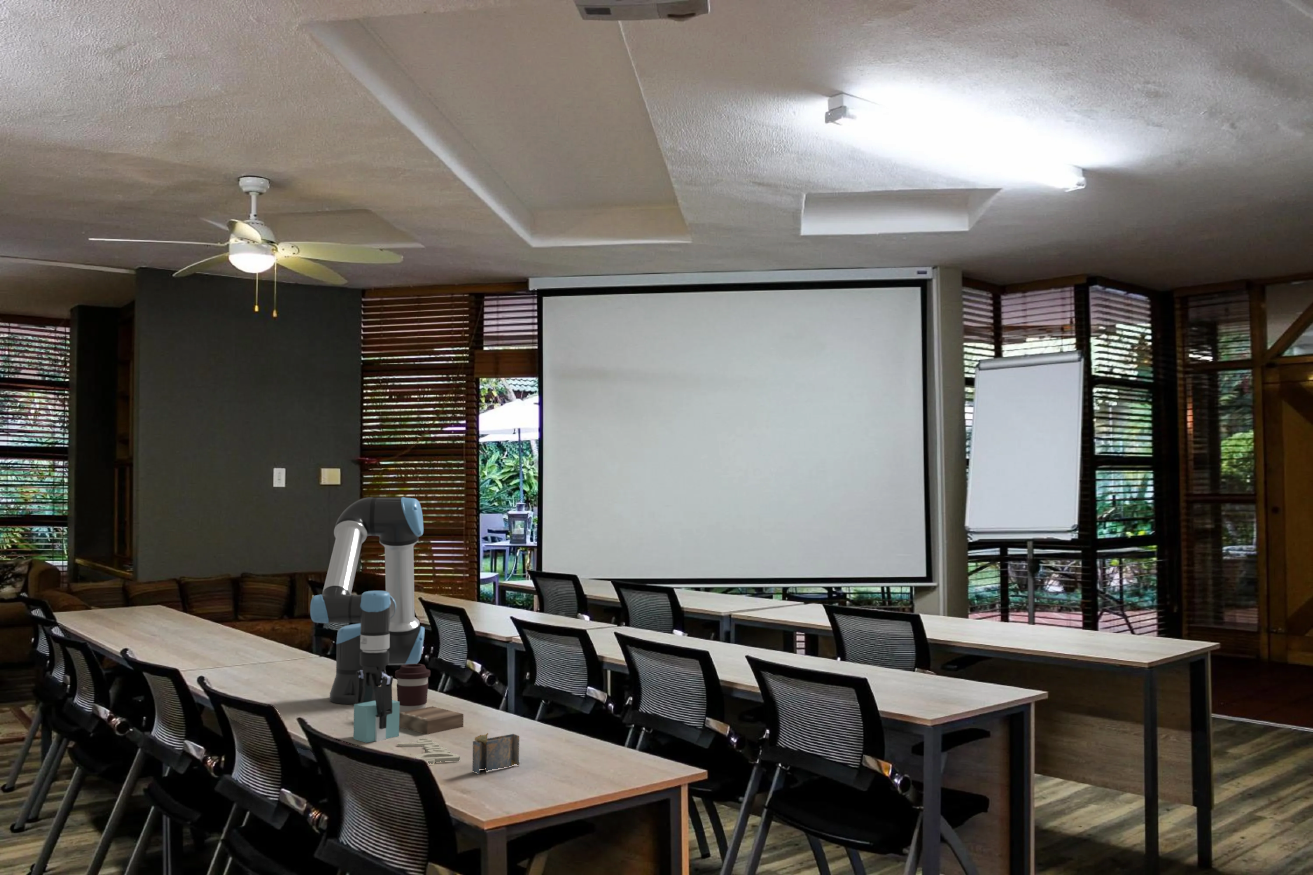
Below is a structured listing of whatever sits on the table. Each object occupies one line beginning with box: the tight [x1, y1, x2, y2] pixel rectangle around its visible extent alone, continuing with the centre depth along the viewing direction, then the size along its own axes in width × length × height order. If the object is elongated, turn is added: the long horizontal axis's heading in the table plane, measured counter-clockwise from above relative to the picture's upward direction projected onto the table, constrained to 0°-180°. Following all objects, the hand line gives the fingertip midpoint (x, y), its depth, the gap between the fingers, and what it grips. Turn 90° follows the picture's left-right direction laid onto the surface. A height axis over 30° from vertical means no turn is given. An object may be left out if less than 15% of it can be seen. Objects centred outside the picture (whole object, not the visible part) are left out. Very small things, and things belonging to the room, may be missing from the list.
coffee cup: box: [394, 663, 431, 713], centre depth 302 cm, size 10×10×15 cm
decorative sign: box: [396, 737, 461, 764], centre depth 263 cm, size 23×2×10 cm
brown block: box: [399, 705, 464, 735], centre depth 290 cm, size 14×12×4 cm
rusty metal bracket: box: [471, 732, 520, 774], centre depth 249 cm, size 11×3×10 cm, turn 131°
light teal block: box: [352, 699, 400, 744], centre depth 277 cm, size 6×10×9 cm, turn 139°
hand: (372, 738), depth 276 cm, fingers closed on light teal block, 6 cm apart
